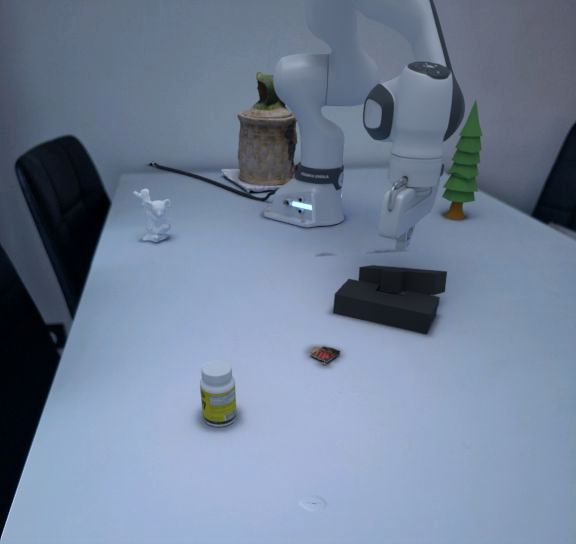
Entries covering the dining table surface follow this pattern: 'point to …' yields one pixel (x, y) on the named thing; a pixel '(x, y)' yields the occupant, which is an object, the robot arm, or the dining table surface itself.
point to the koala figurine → (155, 216)
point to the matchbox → (324, 353)
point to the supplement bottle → (218, 393)
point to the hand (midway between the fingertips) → (402, 248)
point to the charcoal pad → (386, 306)
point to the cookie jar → (265, 142)
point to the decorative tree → (464, 167)
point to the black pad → (404, 279)
